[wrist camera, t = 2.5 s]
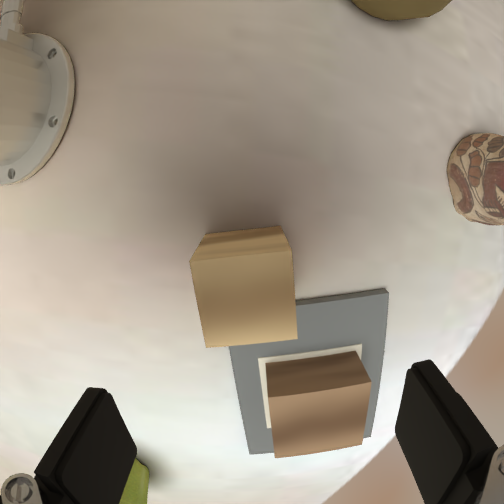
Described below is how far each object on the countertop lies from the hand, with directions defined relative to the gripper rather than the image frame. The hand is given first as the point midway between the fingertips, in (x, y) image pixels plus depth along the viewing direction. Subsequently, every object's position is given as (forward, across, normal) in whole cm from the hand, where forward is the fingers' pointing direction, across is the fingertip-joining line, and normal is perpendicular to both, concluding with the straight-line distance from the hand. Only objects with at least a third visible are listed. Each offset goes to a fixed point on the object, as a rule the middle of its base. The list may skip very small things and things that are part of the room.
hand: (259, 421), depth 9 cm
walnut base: (+13, -3, +10) cm, 17 cm away
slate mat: (+14, -3, +10) cm, 18 cm away
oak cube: (+14, +1, -1) cm, 14 cm away
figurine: (+14, -18, -6) cm, 24 cm away
